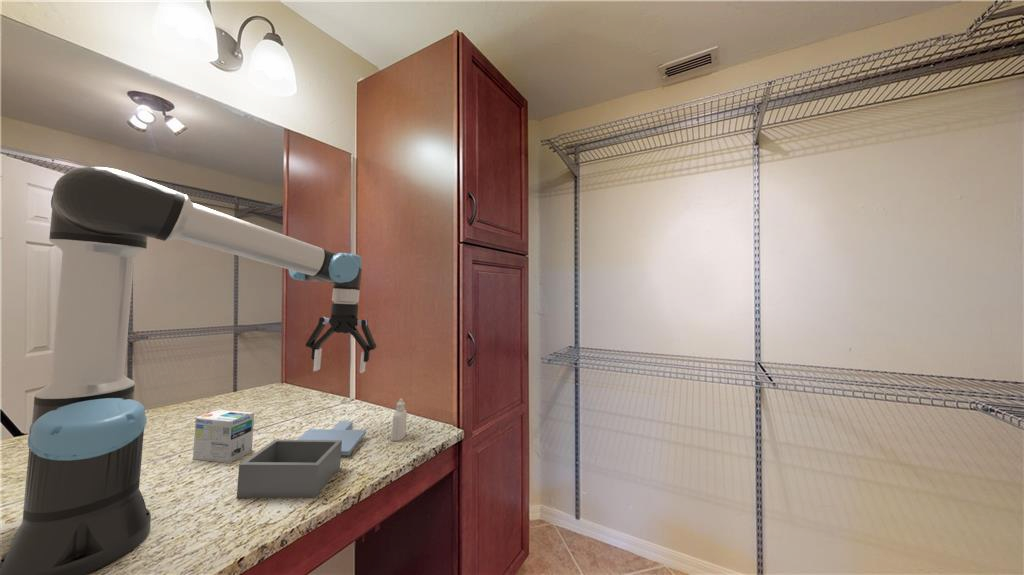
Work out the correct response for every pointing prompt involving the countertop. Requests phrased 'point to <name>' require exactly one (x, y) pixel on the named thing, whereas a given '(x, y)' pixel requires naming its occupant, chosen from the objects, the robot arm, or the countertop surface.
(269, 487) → the tub
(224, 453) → the light bulb box
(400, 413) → the eye dropper bottle
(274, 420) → the countertop surface
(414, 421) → the countertop surface
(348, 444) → the lid
